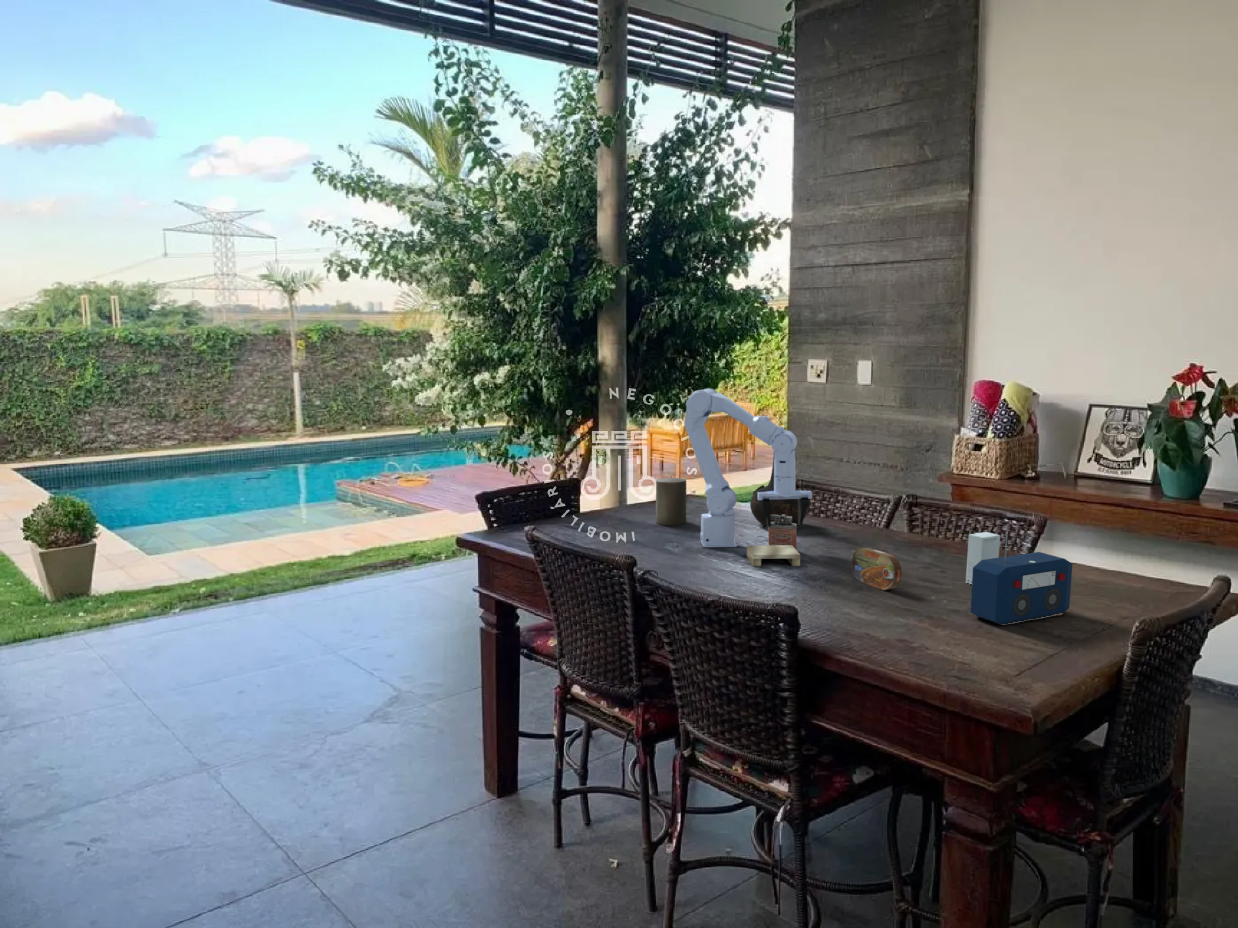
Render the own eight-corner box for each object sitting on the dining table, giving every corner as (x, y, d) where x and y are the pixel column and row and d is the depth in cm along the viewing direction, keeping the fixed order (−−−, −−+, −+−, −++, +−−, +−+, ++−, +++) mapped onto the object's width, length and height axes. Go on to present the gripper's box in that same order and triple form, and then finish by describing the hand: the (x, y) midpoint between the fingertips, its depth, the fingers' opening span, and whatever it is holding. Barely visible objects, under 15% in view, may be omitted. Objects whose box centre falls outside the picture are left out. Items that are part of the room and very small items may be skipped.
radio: (1000, 629, 175) (1006, 531, 172) (966, 617, 183) (971, 523, 180) (1074, 616, 183) (1081, 522, 180) (1039, 604, 191) (1045, 514, 188)
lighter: (798, 549, 241) (798, 514, 238) (795, 553, 238) (794, 517, 235) (770, 546, 244) (769, 512, 242) (766, 550, 241) (765, 515, 239)
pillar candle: (687, 525, 272) (687, 478, 270) (655, 525, 272) (656, 478, 270) (685, 519, 282) (685, 473, 280) (655, 519, 282) (655, 473, 280)
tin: (850, 578, 213) (851, 544, 212) (860, 576, 214) (861, 543, 213) (892, 594, 199) (893, 558, 198) (903, 593, 200) (904, 557, 199)
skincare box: (979, 588, 204) (982, 537, 202) (965, 583, 207) (967, 534, 206) (998, 584, 206) (1001, 534, 205) (983, 580, 210) (985, 531, 208)
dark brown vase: (765, 517, 284) (767, 431, 280) (817, 524, 274) (820, 434, 270) (739, 527, 270) (740, 436, 266) (793, 534, 259) (795, 440, 255)
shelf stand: (753, 566, 224) (753, 554, 223) (746, 556, 234) (747, 545, 233) (800, 565, 224) (800, 554, 224) (791, 556, 234) (792, 545, 234)
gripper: (760, 479, 234) (760, 529, 236) (814, 477, 234) (814, 527, 236) (756, 475, 241) (756, 523, 243) (808, 473, 241) (808, 522, 243)
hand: (784, 525), depth 240 cm, fingers open, 7 cm apart
